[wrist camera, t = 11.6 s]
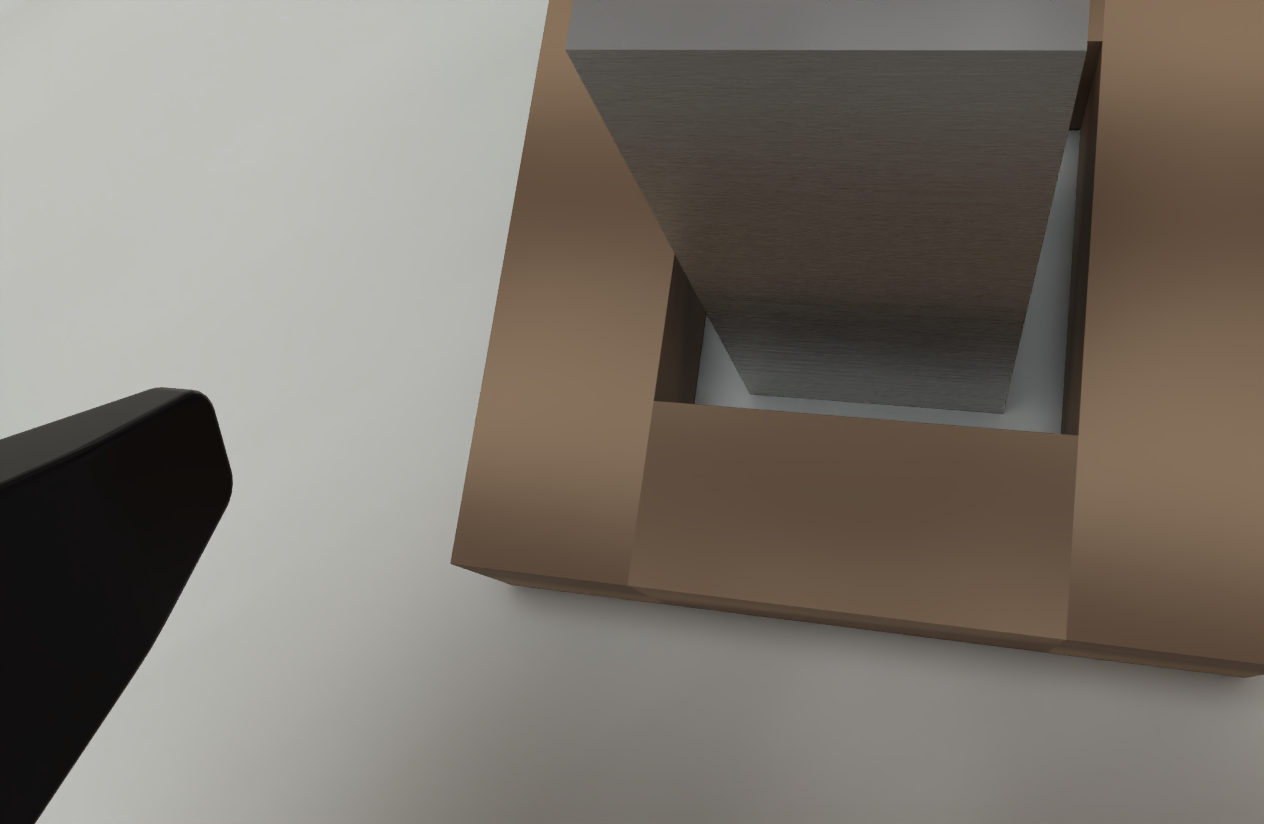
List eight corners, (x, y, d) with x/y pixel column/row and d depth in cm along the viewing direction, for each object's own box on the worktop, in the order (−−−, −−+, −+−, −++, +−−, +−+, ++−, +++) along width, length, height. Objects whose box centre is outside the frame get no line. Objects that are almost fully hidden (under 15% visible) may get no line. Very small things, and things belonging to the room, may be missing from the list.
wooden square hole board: (1245, 677, 19) (1299, 668, 16) (510, 584, 22) (450, 564, 20) (1264, -18, 22) (1314, -129, 19) (608, -11, 25) (567, -104, 22)
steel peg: (1002, 413, 21) (1087, 51, 10) (750, 394, 22) (565, 49, 11) (1020, 177, 22) (1115, -399, 11) (777, 170, 23) (634, -357, 12)
